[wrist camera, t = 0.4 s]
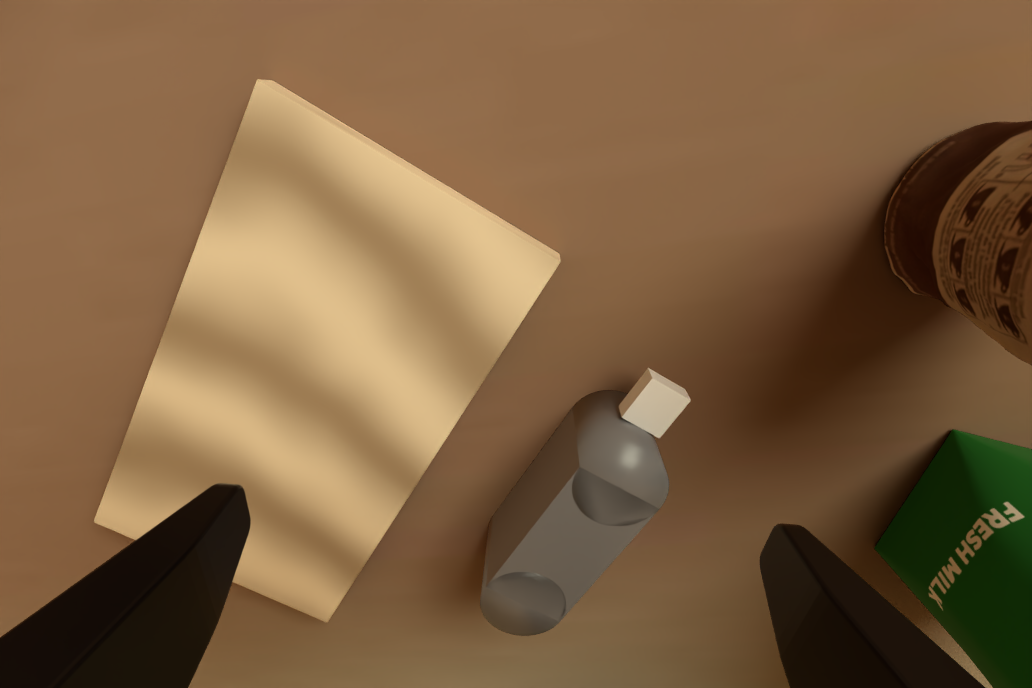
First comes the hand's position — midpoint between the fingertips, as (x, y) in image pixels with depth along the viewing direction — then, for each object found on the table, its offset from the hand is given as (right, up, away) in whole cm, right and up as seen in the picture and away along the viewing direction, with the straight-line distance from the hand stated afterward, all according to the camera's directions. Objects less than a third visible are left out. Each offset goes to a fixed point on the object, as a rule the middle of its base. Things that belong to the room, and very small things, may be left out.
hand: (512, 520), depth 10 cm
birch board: (-9, +1, +15) cm, 18 cm away
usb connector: (+2, -3, +17) cm, 17 cm away
